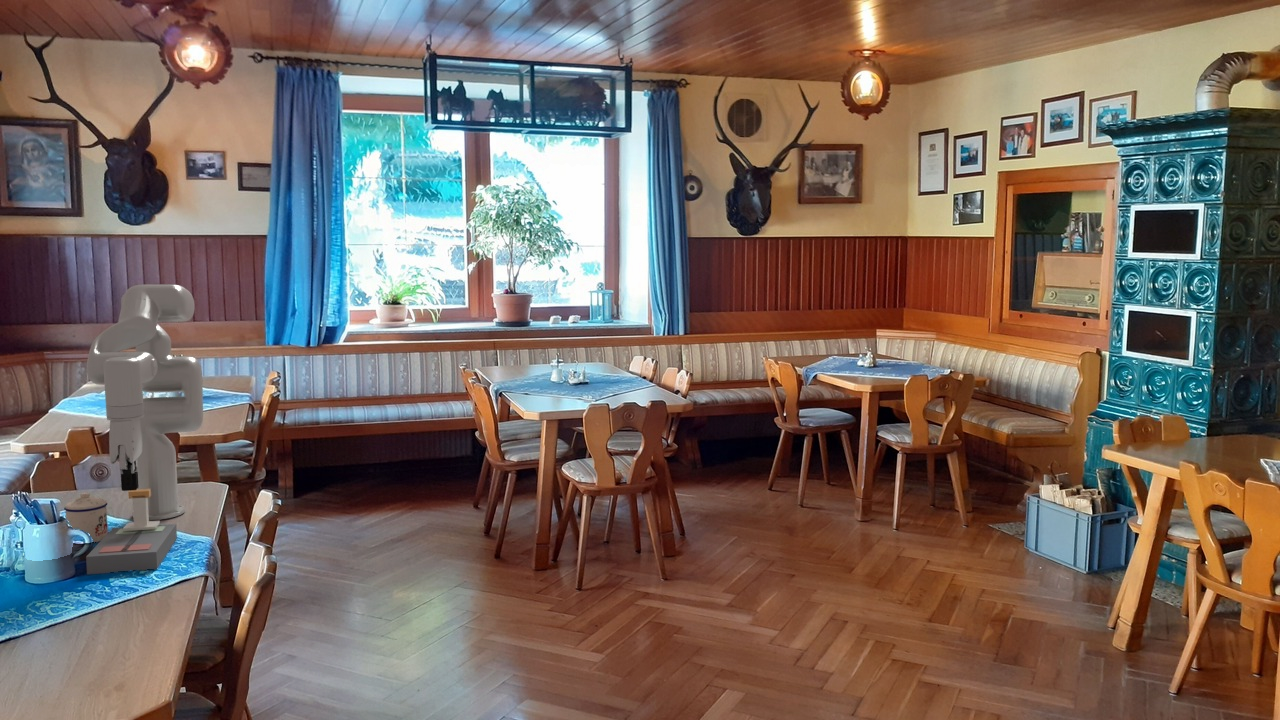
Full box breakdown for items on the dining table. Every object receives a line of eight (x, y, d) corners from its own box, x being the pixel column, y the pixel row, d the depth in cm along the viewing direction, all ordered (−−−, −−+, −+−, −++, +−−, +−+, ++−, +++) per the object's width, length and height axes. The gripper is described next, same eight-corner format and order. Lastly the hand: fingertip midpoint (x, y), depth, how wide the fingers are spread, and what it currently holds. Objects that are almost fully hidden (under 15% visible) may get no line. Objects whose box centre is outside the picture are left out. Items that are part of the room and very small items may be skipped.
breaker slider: (128, 525, 229) (126, 488, 228) (160, 523, 231) (158, 487, 230) (122, 531, 224) (120, 494, 223) (155, 529, 226) (153, 492, 225)
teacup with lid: (104, 543, 229) (101, 496, 228) (61, 546, 227) (58, 499, 225) (116, 529, 241) (113, 484, 239) (75, 532, 238) (72, 486, 237)
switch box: (113, 544, 229) (112, 527, 228) (177, 539, 233) (176, 523, 232) (87, 574, 208) (85, 556, 207) (157, 569, 212) (156, 551, 211)
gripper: (115, 405, 221) (120, 481, 224) (97, 418, 207) (103, 500, 210) (150, 404, 223) (155, 479, 226) (135, 417, 209) (140, 498, 212)
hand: (130, 489), depth 218 cm, fingers closed
